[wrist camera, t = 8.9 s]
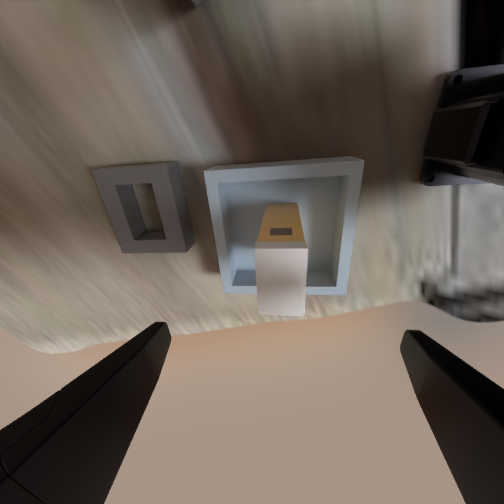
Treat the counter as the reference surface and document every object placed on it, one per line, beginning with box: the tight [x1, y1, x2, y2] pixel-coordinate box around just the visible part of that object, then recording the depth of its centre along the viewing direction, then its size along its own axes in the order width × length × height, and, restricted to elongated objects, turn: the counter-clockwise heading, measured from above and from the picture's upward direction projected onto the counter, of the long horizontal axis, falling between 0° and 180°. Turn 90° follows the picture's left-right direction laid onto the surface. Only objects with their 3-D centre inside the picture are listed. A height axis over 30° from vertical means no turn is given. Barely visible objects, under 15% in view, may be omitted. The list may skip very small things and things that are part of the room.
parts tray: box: [204, 156, 365, 295], centre depth 18 cm, size 10×10×3 cm
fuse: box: [254, 203, 308, 316], centre depth 15 cm, size 2×4×8 cm, turn 3°
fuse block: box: [91, 161, 195, 253], centre depth 19 cm, size 6×7×2 cm
